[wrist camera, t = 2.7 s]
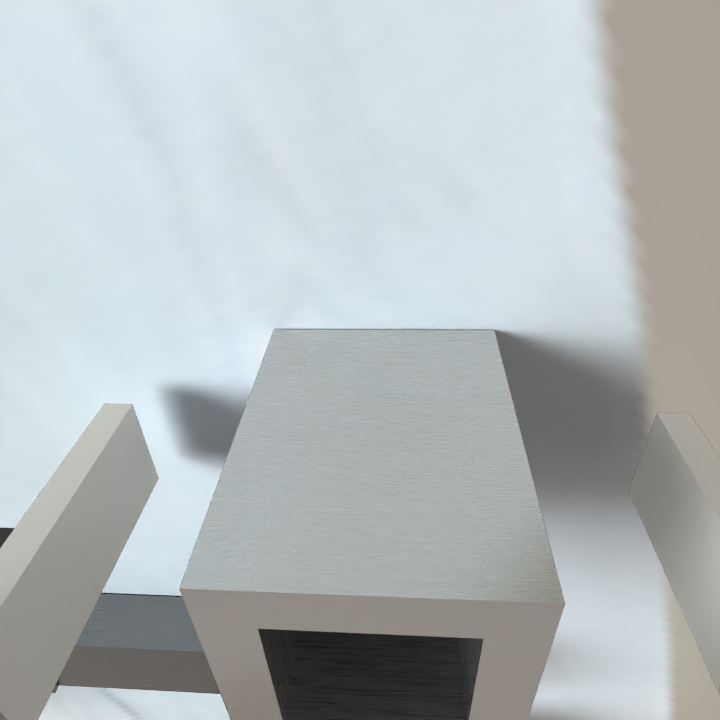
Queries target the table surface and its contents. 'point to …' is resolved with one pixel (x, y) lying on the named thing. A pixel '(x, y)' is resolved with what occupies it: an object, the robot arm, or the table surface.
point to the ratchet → (139, 647)
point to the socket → (376, 536)
